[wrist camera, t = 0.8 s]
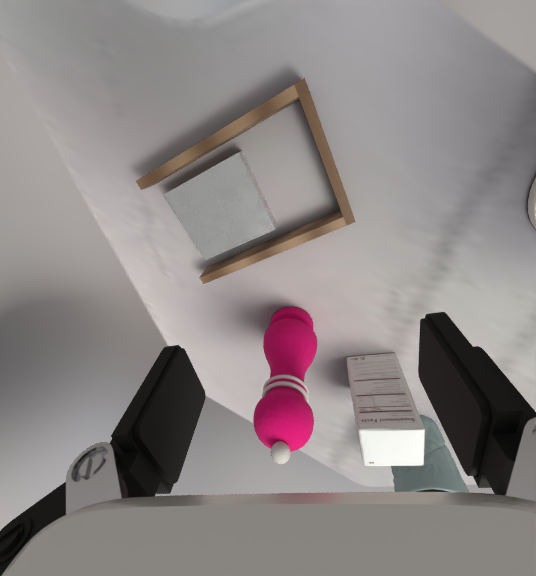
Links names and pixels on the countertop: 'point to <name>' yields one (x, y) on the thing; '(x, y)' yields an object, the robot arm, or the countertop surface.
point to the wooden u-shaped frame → (235, 129)
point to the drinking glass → (430, 467)
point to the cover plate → (222, 207)
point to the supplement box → (385, 412)
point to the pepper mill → (286, 384)
